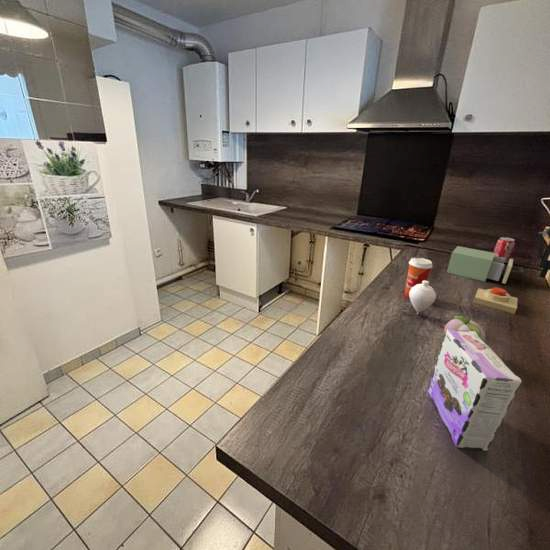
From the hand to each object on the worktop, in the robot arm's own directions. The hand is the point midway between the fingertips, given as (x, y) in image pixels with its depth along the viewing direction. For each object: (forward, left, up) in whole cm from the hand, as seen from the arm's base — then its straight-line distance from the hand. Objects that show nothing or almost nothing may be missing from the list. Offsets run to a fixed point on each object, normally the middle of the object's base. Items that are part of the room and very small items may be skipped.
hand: (542, 276), depth 115 cm
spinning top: (+31, +55, -6) cm, 63 cm away
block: (+12, +27, -6) cm, 30 cm away
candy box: (+14, +93, -6) cm, 94 cm away
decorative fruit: (+17, +67, -6) cm, 69 cm away
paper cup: (+36, +42, -6) cm, 56 cm away
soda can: (+14, -29, -6) cm, 33 cm away
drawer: (+15, 0, -5) cm, 16 cm away
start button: (+12, +27, -2) cm, 30 cm away
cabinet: (+24, 0, -6) cm, 25 cm away
